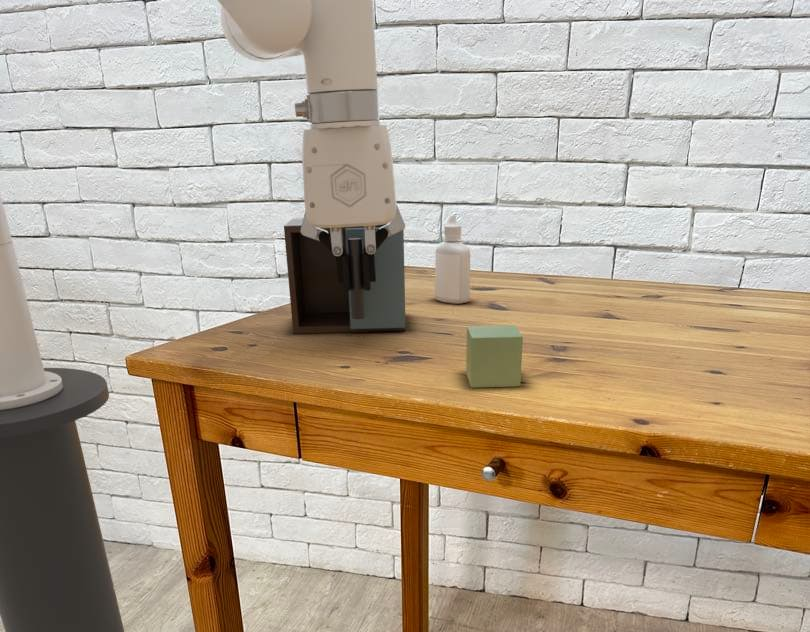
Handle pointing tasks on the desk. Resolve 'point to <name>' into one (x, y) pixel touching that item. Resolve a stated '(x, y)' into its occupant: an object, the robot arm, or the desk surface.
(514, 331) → the block
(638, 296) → the desk surface
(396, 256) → the closet door
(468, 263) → the eye dropper bottle
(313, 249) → the closet
